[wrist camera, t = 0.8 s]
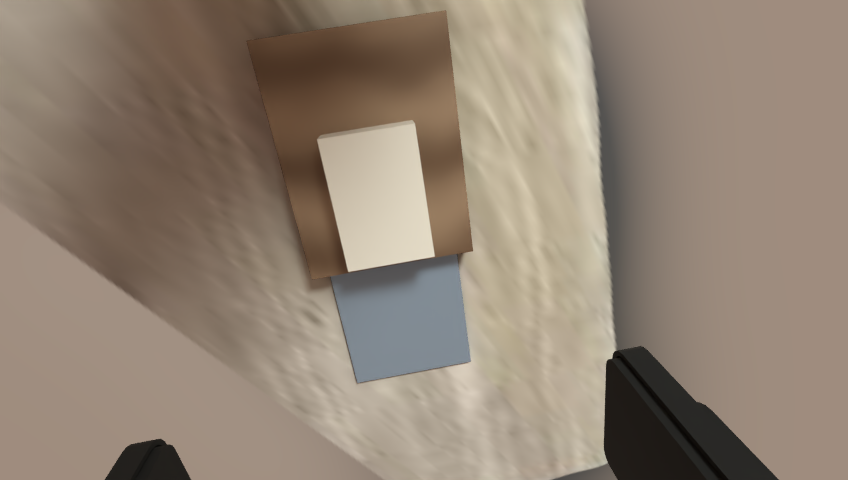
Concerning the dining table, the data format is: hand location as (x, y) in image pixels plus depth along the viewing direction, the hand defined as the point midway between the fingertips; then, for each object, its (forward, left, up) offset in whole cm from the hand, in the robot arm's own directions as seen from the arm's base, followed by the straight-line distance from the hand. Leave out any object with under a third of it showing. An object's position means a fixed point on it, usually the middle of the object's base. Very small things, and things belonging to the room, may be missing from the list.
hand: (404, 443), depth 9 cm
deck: (-2, 0, -24) cm, 24 cm away
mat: (+12, 0, -24) cm, 26 cm away
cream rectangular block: (0, 0, -22) cm, 22 cm away
